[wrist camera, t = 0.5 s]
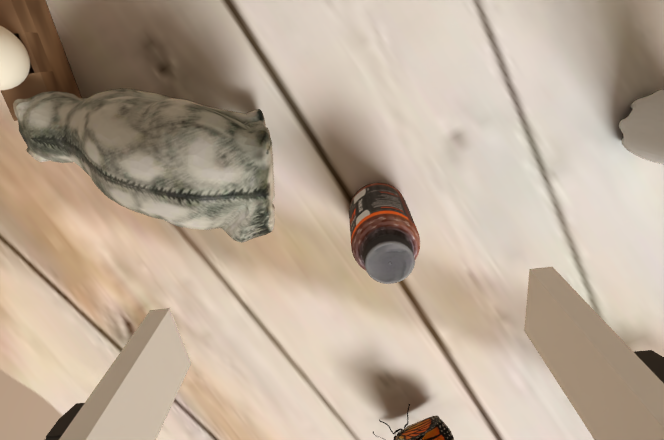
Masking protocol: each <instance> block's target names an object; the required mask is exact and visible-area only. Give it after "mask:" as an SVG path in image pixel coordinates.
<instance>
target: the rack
mask: <svg viewBox="0 0 664 440" xmlns="http://www.w3.org/2000/svg"><path fill="white" fill-rule="evenodd" d="M0 26H2V27H4V28H6V29H7V30H9V31H10V32H11V33H13V34H14V35H15V36H16V37H17V38H18V39H19V40H20V41H21V42H22V44H23V45H24V46H25V48H26V50H27V52H28V55H29V59H30V70H29V73H28V75H27V77H26V79H25V80H24V81H23V82H22V83H21V84H20V85H18V86H16V87H14V88H11V89H7V90H1V93H2V95H3V97H4V99H5V101H6V104H7V106H8V108H9V110H10V112H11V115H12V117H13V119H14V121H16V120H18V119H17V117H16V115H15V112H14V108H13V103H14V101H15V100H17V99H28V98H31V97H33V96H35V95H37V94H39V93H42V92H50V91H58V92H67V93H71V94H74V95H76V96H77V97H78V98H81V95H80V92H79V89H78V87H77V84H76V81H75V79H74V76H73V73H72V71H71V68H70V65H69V63H68V60H67V57H66V55H65V52H64V49H63V47H62V44H61V41H60V39H59V36H58V33H57V31H56V28H55V25H54V22H53V20H52V17H51V14H50V12H49V9H48V6H47V4H46V1H45V0H0Z"/></svg>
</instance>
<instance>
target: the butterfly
mask: <svg viewBox="0 0 664 440" xmlns="http://www.w3.org/2000/svg"><path fill="white" fill-rule="evenodd" d="M409 406H410V404H409ZM408 410H409V407H408ZM407 419H408V411H407ZM379 420H380V419H379ZM380 422H382V421H380ZM383 423H384V422H383ZM385 424H386V423H385ZM386 425H388V424H386ZM406 425H408V423H407V424H406ZM406 425H405V427H406ZM405 427H404V430H403V429H398V430H396V431H395V432H394V433H393V432H392V430H391V429H390V430H391V432H392V433H393V434H395V433H396V432H398V431H399V430H401V431H400V432H398V434H397V436H394V440H454V438H453V435H452V433H451V431H450V429H449V428H448V427H447V426H446V424H445V423H444V422H443V421H442V420H441V419H440V418H439V417H438V416H432V417H430V418H427V419H425V420H422V421H420V422H417V423H415V424H412V425H410V426H407V427H406V428H405ZM389 428H390V427H389ZM373 434H374V432H373ZM374 435H375V434H374ZM375 436H376V435H375ZM380 438H381V437H380ZM382 439H383V438H382ZM385 440H386V439H385Z"/></svg>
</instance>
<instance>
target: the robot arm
mask: <svg viewBox="0 0 664 440" xmlns="http://www.w3.org/2000/svg"><path fill="white" fill-rule="evenodd" d="M524 331H525V333H526V334H527V336H528V337H529V339H530V340H531V342H532V343H533V345H534V346H535V348H536V350H537V351H538V353H539V354H540V356H541V357H542V359H543V360H544V362H545V364H546V365H547V367H548V368H549V370H550V371H551V373H552V374H553V376H554V377H555V379H556V381H557V382H558V384H559V385H560V387H561V388H562V390H563V391H564V393H565V395H566V396H567V398H568V399H569V401H570V402H571V404H572V405H573V407H574V408H575V410H576V412H577V413H578V415H579V416H580V418H581V419H582V421H583V422H584V424H585V426H586V427H587V429H588V430H589V432H590V433H591V435H592V436H593V438H594V439H595V440H664V357H662V356H660V355H659V354H657V353H655V352H654V351H652V350H648V351H637V352H633V351H632V350H631V349H630V348H629V347H628V346H627V345H626V344H625V342H624V341H623V340H622V339H621V338H620V337H619V336H618V335H617V334H616V333H615V332H614V331H613V330H612V329H611V328H610V327H609V326H608V325H607V324H606V323H605V322H604V320H603V319H602V318H601V317H600V316H599V315H598V314H597V313H596V312H595V311H594V310H593V309H592V308H591V307H590V306H589V305H588V304H587V303H586V302H585V301H584V300H583V298H582V297H581V296H580V295H579V294H578V293H577V292H576V291H575V290H574V289H573V288H572V287H571V286H570V285H569V284H568V283H567V282H566V281H565V280H564V279H563V278H562V276H561V275H560V274H559V273H558V272H557V271H556V270H555V269H554V268H553V267H546V268H536V269H530V271H529V282H528V294H527V306H526V317H525V329H524ZM190 365H191V361H190V358H189V356H188V353H187V351H186V348H185V346H184V343H183V341H182V338H181V336H180V333H179V330H178V328H177V325H176V323H175V320H174V318H173V315H172V313H171V310H170V308H168V309H159V310H150V311H149V313H148V314H147V316H146V317H145V319H144V320H143V321H142V323H141V324H140V326H139V327H138V328H137V330H136V331H135V333H134V334H133V336H132V337H131V338H130V340H129V341H128V343H127V344H126V345H125V347H124V348H123V350H122V351H121V353H120V354H119V355H118V357H117V358H116V360H115V361H114V362H113V364H112V365H111V367H110V368H109V370H108V371H107V372H106V374H105V375H104V377H103V378H102V379H101V381H100V382H99V384H98V385H97V387H96V388H95V389H94V391H93V392H92V394H91V395H90V396H89V398H88V399H87V401H86V402H85V403H78V404H75V405H74V406H73V407H72V408H71V409H70V410H69V411H68V412H66V413H65V414H64V415H63V416H62V417H61V418H60V419H59V420H58V421H57V422H56V424H55V425H54V427H53V428H52V429H51V431H50V432H49V433H48V435H47V436H46V440H156V438H157V436H158V434H159V432H160V430H161V428H162V425H163V423H164V421H165V419H166V417H167V415H168V412H169V410H170V408H171V406H172V404H173V402H174V399H175V397H176V395H177V393H178V391H179V389H180V386H181V384H182V382H183V380H184V378H185V376H186V373H187V371H188V369H189V367H190Z"/></svg>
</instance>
